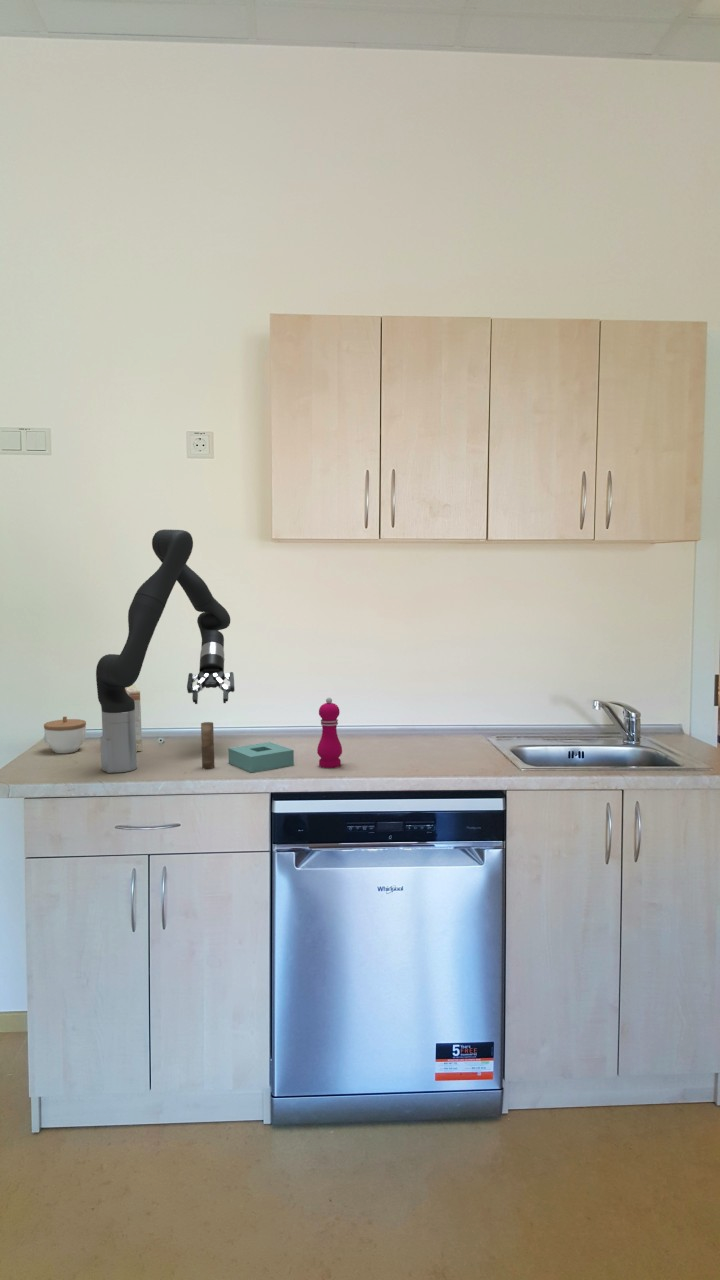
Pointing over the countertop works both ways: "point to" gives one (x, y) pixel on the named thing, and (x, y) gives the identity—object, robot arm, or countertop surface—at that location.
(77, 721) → the lidded bowl
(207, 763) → the peg
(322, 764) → the pepper mill
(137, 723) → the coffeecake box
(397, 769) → the countertop surface
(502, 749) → the countertop surface
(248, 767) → the socket block
